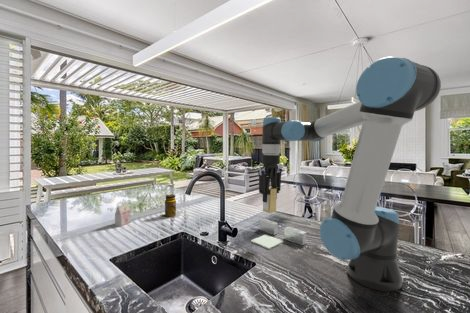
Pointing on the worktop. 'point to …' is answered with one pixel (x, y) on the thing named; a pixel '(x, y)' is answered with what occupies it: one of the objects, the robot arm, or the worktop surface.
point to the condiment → (170, 207)
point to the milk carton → (122, 215)
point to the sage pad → (267, 241)
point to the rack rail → (289, 232)
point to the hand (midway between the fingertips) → (269, 208)
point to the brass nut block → (272, 200)
